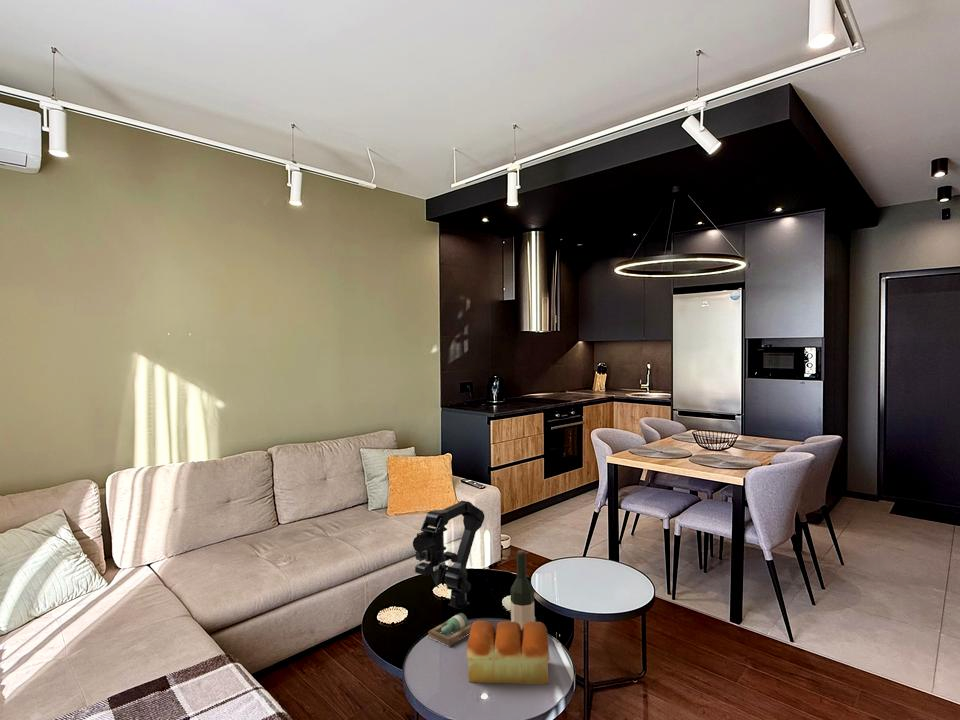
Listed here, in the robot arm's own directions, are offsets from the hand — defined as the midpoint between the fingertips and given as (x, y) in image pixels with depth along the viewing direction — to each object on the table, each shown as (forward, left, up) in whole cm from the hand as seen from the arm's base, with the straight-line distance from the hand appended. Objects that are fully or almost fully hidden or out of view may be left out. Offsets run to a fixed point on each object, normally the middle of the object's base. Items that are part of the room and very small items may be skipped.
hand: (437, 585), depth 202 cm
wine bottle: (-8, +34, -13) cm, 37 cm away
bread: (+13, +43, -13) cm, 47 cm away
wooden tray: (+5, +13, -12) cm, 19 cm away
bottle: (+1, +13, -10) cm, 16 cm away
